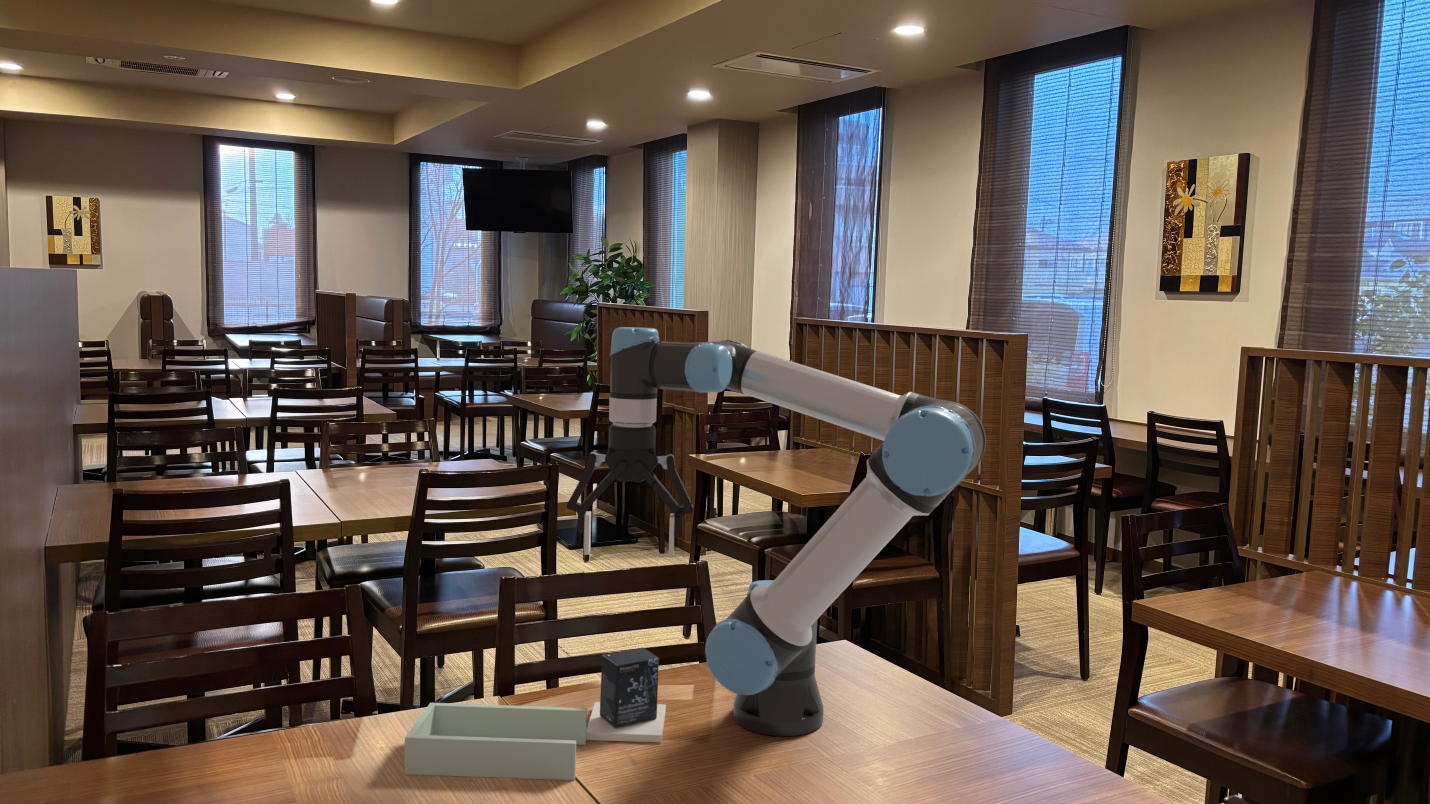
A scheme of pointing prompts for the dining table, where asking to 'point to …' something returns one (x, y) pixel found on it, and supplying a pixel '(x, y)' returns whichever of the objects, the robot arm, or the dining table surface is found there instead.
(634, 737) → the plate
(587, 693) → the dining table surface
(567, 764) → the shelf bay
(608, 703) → the box
